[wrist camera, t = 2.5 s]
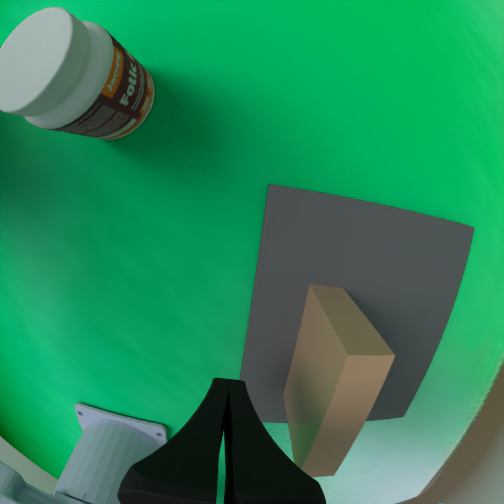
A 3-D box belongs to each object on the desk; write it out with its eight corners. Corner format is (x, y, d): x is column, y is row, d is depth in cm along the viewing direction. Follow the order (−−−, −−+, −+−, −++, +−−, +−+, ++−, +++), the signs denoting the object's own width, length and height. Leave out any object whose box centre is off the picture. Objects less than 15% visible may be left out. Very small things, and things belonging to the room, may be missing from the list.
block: (313, 394, 18) (336, 475, 12) (283, 393, 18) (296, 477, 12) (345, 288, 16) (398, 355, 10) (309, 284, 16) (347, 355, 10)
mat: (401, 413, 20) (403, 416, 20) (233, 416, 19) (233, 419, 19) (470, 226, 16) (474, 227, 16) (268, 184, 15) (269, 184, 15)
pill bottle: (167, 117, 14) (94, 71, 6) (93, 154, 15) (-11, 150, 6) (144, 49, 13) (76, -25, 5) (75, 86, 13) (-19, 50, 5)
